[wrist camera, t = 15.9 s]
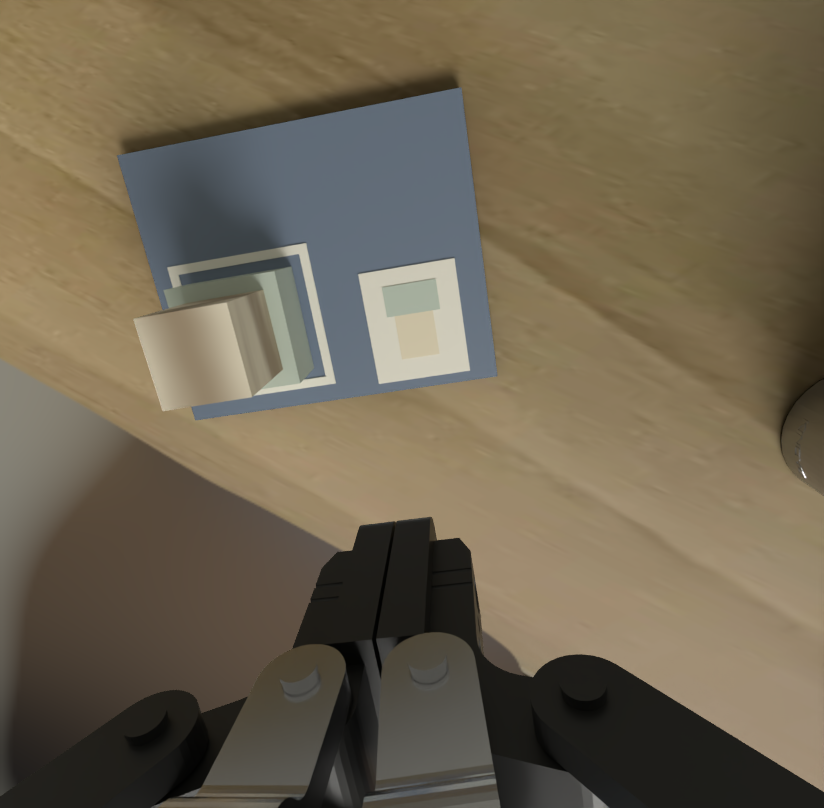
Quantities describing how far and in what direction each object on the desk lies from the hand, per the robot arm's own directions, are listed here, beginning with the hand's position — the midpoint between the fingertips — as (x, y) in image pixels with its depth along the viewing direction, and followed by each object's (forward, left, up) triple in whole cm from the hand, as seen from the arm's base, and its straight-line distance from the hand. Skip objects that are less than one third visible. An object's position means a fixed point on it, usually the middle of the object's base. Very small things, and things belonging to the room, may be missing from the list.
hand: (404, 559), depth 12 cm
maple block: (+12, -2, -24) cm, 26 cm away
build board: (+7, -5, -29) cm, 30 cm away
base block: (+12, -2, -28) cm, 30 cm away
